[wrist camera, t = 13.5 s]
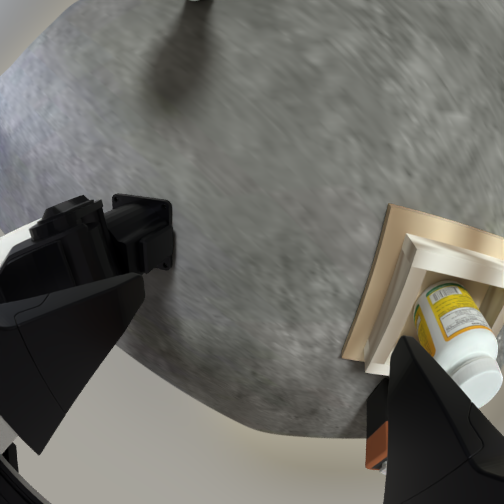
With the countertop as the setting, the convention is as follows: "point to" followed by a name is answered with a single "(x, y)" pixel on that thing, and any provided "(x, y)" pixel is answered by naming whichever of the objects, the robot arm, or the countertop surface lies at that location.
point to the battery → (377, 428)
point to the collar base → (422, 280)
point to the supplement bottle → (459, 339)
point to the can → (14, 239)
